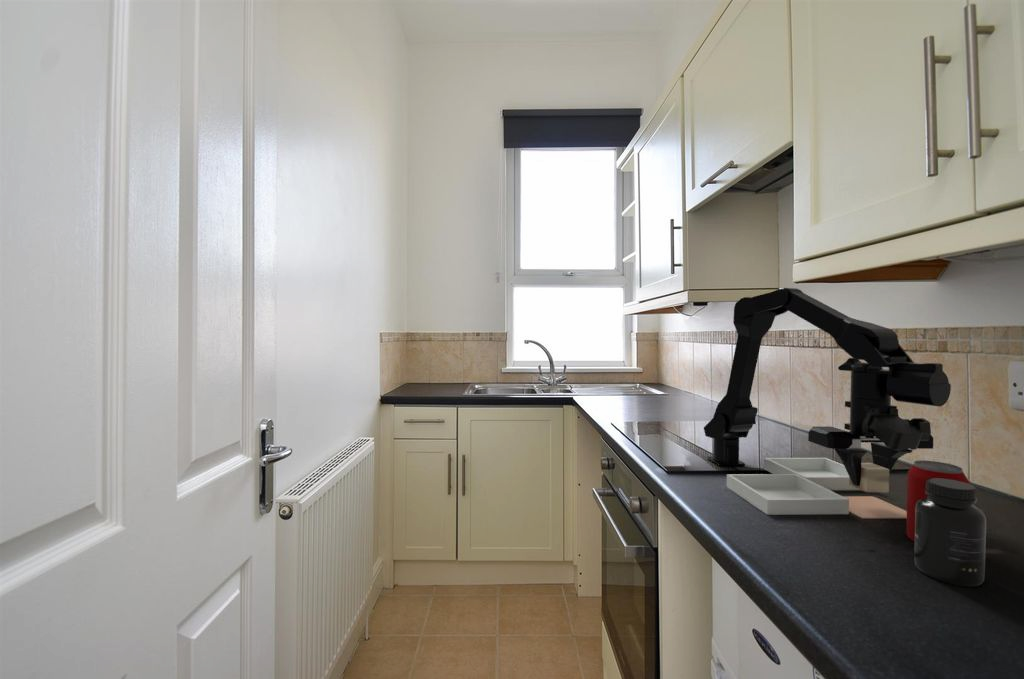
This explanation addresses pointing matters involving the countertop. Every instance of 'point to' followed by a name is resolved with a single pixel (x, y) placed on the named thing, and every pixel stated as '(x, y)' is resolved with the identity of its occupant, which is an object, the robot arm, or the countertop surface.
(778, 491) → the tray
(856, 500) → the tile
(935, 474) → the beverage can
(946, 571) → the supplement bottle
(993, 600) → the countertop surface
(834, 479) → the tray
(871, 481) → the beech cube
